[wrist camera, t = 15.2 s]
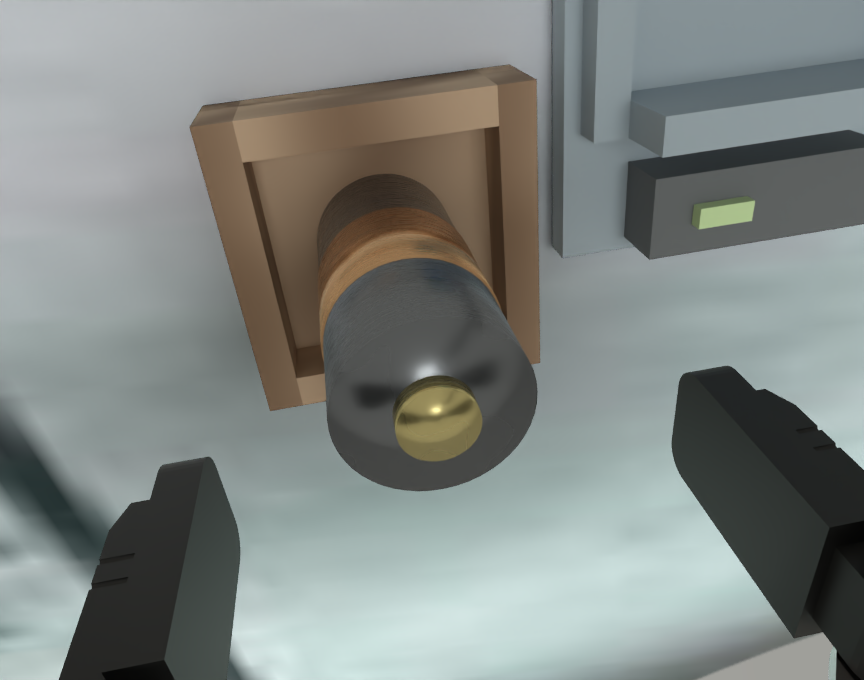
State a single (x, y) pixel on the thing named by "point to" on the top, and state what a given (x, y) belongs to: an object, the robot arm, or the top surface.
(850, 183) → the tray
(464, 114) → the trough
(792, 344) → the top surface
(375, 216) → the cell
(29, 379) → the top surface
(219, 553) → the robot arm
